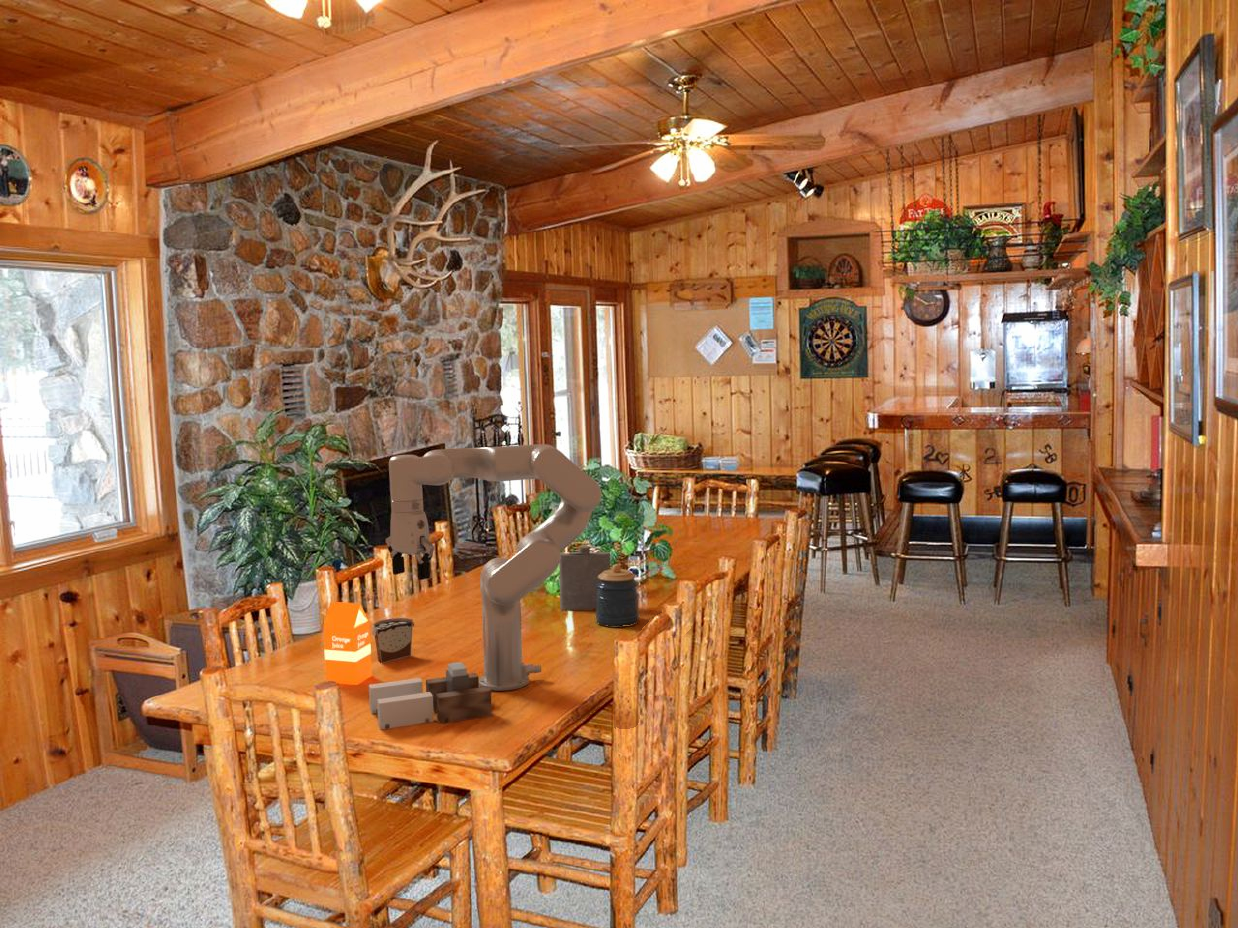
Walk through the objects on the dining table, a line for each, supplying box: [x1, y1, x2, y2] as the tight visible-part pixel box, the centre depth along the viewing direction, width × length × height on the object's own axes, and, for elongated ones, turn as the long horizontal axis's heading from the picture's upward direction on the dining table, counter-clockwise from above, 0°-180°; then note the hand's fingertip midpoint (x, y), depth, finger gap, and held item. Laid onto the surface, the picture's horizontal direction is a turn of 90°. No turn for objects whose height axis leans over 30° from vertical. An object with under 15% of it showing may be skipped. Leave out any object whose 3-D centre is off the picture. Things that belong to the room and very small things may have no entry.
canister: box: [595, 563, 640, 626], centre depth 328 cm, size 13×13×18 cm
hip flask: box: [558, 545, 611, 611], centre depth 344 cm, size 16×4×20 cm, turn 95°
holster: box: [425, 672, 493, 724], centre depth 256 cm, size 12×14×6 cm
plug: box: [445, 661, 470, 692], centre depth 256 cm, size 4×6×11 cm, turn 22°
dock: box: [368, 677, 435, 730], centre depth 253 cm, size 12×14×6 cm
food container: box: [371, 617, 415, 664], centre depth 297 cm, size 12×6×10 cm, turn 135°
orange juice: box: [323, 601, 373, 686], centre depth 279 cm, size 8×9×20 cm
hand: (411, 576), depth 266 cm, fingers open, 9 cm apart
